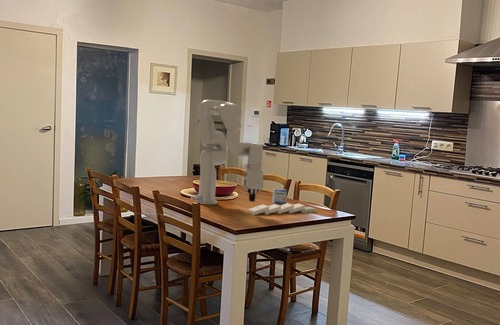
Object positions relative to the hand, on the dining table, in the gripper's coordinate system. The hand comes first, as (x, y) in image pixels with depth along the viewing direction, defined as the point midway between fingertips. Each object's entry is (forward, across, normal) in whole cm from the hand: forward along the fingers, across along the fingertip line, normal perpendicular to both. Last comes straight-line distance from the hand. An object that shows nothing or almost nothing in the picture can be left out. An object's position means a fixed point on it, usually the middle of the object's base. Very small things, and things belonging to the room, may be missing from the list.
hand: (251, 201), depth 264 cm
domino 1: (+6, 0, 0) cm, 6 cm away
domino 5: (+6, +32, 0) cm, 33 cm away
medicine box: (+7, +35, +25) cm, 44 cm away
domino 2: (+6, +8, 0) cm, 10 cm away
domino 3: (+6, +16, 0) cm, 17 cm away
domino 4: (+6, +24, 0) cm, 25 cm away
